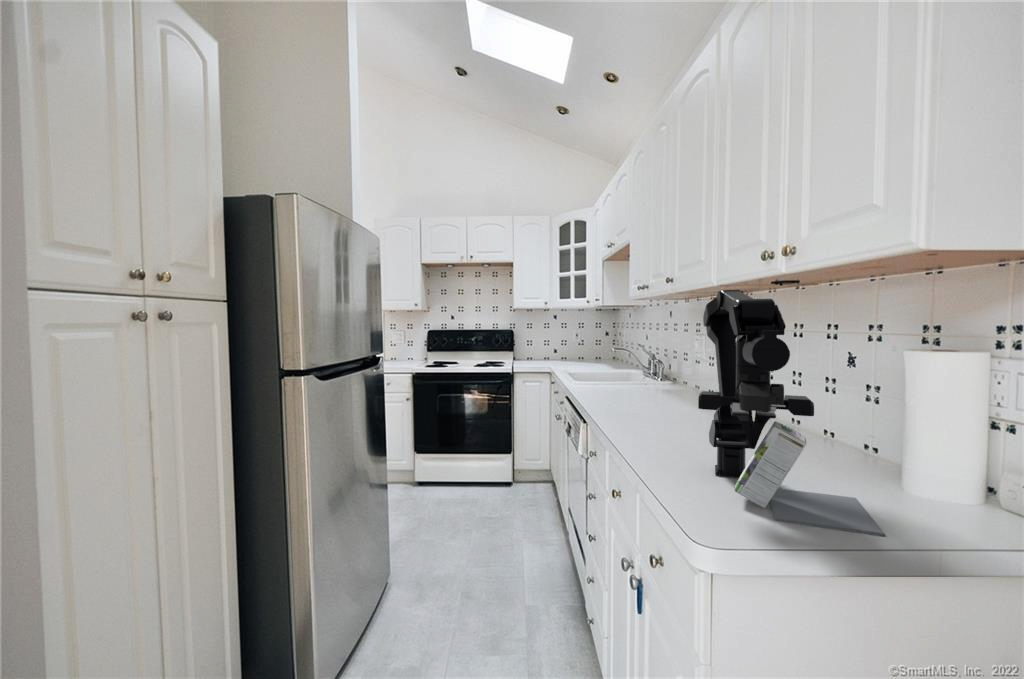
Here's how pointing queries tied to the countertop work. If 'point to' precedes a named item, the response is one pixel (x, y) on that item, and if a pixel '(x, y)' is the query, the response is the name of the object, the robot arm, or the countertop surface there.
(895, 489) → the countertop surface
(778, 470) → the syrup box
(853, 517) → the mat
